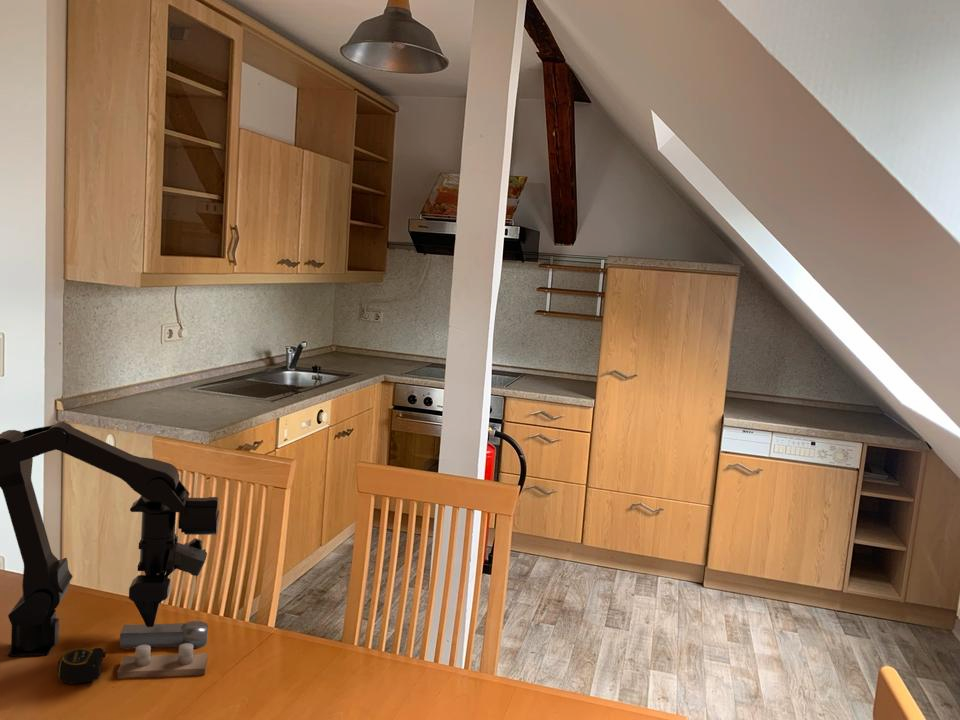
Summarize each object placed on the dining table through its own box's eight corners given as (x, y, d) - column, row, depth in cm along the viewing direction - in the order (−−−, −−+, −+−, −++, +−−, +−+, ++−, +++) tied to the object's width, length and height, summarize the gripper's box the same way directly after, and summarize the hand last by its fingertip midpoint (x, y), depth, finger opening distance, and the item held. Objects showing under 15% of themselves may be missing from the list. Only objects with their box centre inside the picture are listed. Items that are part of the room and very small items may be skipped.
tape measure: (99, 686, 128) (99, 665, 127) (52, 689, 125) (53, 668, 125) (105, 664, 134) (106, 644, 134) (61, 667, 132) (62, 647, 131)
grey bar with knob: (118, 651, 138) (119, 635, 138) (124, 638, 143) (124, 622, 143) (206, 648, 142) (206, 633, 142) (208, 635, 147) (209, 620, 146)
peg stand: (117, 678, 130) (118, 656, 129) (123, 662, 135) (124, 641, 134) (204, 674, 134) (205, 653, 133) (207, 659, 138) (208, 638, 138)
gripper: (199, 553, 132) (195, 638, 134) (209, 516, 150) (205, 591, 152) (130, 553, 129) (126, 640, 132) (148, 515, 147) (145, 592, 149)
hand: (154, 614), depth 141 cm, fingers open, 9 cm apart
